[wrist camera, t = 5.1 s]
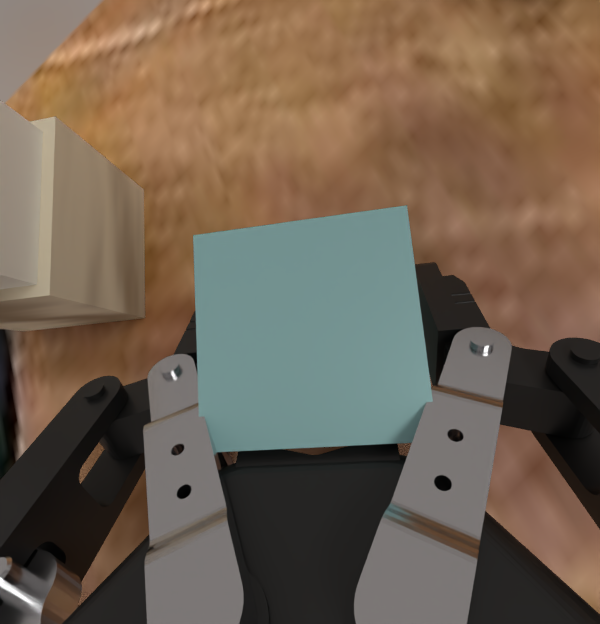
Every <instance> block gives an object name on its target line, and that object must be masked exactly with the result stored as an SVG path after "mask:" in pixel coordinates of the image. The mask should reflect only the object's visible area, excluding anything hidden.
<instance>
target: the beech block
mask: <svg viewBox="0 0 600 624" xmlns="http://www.w3.org/2000/svg"><path fill="white" fill-rule="evenodd" d="M30 123H32V124H33V125H34V126H36V127H37V128H38V129H40V130H41V131H42V132H43V143H42V171H41V198H40V225H39V252H38V279H37V285H30V286H23V287H15V288H8V289H0V329H7V330H16V331H32V330H41V329H51V328H60V327H69V326H78V325H87V324H96V323H106V322H115V321H124V320H133V319H142V318H145V250H144V189H143V188H141V187H140V186H139V185H138V184H137V183H135V182H134V181H133V180H132V179H131V178H129V177H128V176H127V175H126V174H125V173H123V172H122V171H121V170H120V169H118V168H117V167H116V166H115V165H114V164H112V163H111V162H110V161H109V160H108V159H106V158H105V157H104V156H103V155H102V154H100V153H99V152H98V151H97V150H95V149H94V148H93V147H92V146H91V145H89V144H88V143H87V142H86V141H85V140H83V139H82V138H81V137H80V136H79V135H77V134H76V133H75V132H74V131H72V130H71V129H70V128H69V127H68V126H66V125H65V124H64V123H63V122H62V121H60V120H59V119H58V118H57V117H56V116H55V117H50V118H46V119H41V120H36V121H31V122H30Z"/></svg>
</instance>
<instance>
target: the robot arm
mask: <svg viewBox="0 0 600 624" xmlns="http://www.w3.org/2000/svg"><path fill="white" fill-rule="evenodd" d="M415 271H416V278H417V286H418V293H419V301H420V308H421V316H422V323H423V331H424V338H425V346H426V354H427V361H428V369H429V374H430V377H431V381H432V384H433V386H432V388H431V391H432V399H433V402H426V405H425V407H424V410H423V413H422V416H421V419H420V422H419V424H418V427H417V430H416V433H415V436H414V439H413V441H412V444H411V447H410V450H409V453H408V456H403V455H399V451H398V445H397V443H395V444H375V445H354V446H348V447H344V448H341V449H337V450H334V451H330V452H327V453H323V454H320V455H308V454H303V453H298V452H293V451H288V450H283V449H273V450H253V451H238V456H237V461H236V463H234V464H233V461H232V457H231V454H230V452H217V450H216V448H215V445H214V442H213V439H212V436H211V434H210V431H209V428H208V425H207V422H206V419H205V417H204V416H202V417H199V404H198V372H197V340H196V311H195V312H194V314H193V316H192V318H191V320H190V323H189V324H188V326H187V328H186V331H185V332H184V334H183V336H182V339H181V341H180V343H179V345H178V347H177V349H176V351H175V353H174V355H172V356H169V357H166V358H164V359H162V360H161V361H159V362H158V363H157V364H155V365H154V366H153V367H152V369H151V370H150V372H149V374H148V378H147V379H145V380H141V381H138V382H135V383H132V384H129V385H126V386H123V385H122V384H121V382H120V380H119V379H118V378H116V377H114V376H104V377H100V378H97V379H94V380H92V381H90V382H89V383H87V384H85V385H84V386H83V387H81V388H80V389H79V390H78V391H77V392H76V393H75V395H74V396H73V397H72V398H71V399H70V400H69V401H68V403H67V404H66V405H65V406H64V407H63V408H62V410H61V411H60V412H59V413H58V414H57V415H56V416H55V418H54V419H53V420H52V421H51V422H50V423H49V425H48V426H47V427H46V428H45V429H44V430H43V432H42V433H41V434H40V435H39V436H38V437H37V438H36V440H35V441H34V442H33V443H32V444H31V445H30V447H29V448H28V449H27V450H26V451H25V452H24V454H23V455H22V456H21V457H20V458H19V459H18V460H17V462H16V463H15V464H14V465H13V466H12V467H11V469H10V470H9V471H8V472H7V473H6V474H5V475H4V477H3V478H2V479H1V480H0V624H600V614H599V613H598V612H596V611H595V610H594V609H593V608H592V607H591V606H590V605H589V604H588V603H587V602H585V601H584V600H583V599H582V598H581V597H580V596H579V595H578V594H577V593H575V592H574V591H573V590H572V589H571V588H570V587H569V586H568V585H567V584H566V583H564V582H563V581H562V580H561V579H560V578H559V577H558V576H557V575H556V574H554V573H553V572H552V571H551V570H550V569H549V568H548V567H547V566H546V565H545V564H543V563H542V562H541V561H540V560H539V559H538V558H537V557H536V556H535V555H533V554H532V553H531V552H530V551H529V550H528V549H527V548H526V547H525V546H524V545H522V544H521V543H520V542H519V541H518V540H517V539H516V538H515V537H514V536H513V535H511V534H510V533H509V532H508V531H507V530H506V529H505V528H504V527H503V526H501V525H500V524H499V523H498V522H497V521H496V520H495V519H494V518H493V517H492V516H490V515H489V514H488V513H487V512H486V511H485V509H486V503H487V497H488V491H489V485H490V479H491V473H492V467H493V461H494V455H495V449H496V443H497V437H498V431H499V426H500V424H501V425H506V426H511V427H516V428H521V429H525V430H530V431H532V433H533V435H534V436H535V438H536V439H537V440H538V442H539V443H540V445H541V446H542V447H543V449H544V450H545V452H546V453H547V455H548V456H549V457H550V459H551V460H552V462H553V463H554V465H555V466H556V467H557V469H558V470H559V472H560V473H561V475H562V476H563V477H564V479H565V480H566V482H567V483H568V485H569V486H570V487H571V489H572V490H573V492H574V493H575V495H576V496H577V497H578V499H579V500H580V502H581V503H582V504H583V506H584V507H585V509H586V510H587V512H588V513H589V514H590V516H591V517H592V519H593V520H594V522H595V523H596V524H597V526H598V527H599V529H600V343H598V342H595V341H592V340H588V339H583V338H565V339H561V340H558V341H556V342H555V343H553V344H552V346H551V348H550V351H549V352H546V351H538V350H530V349H523V348H519V347H515V346H512V345H511V343H510V341H509V339H508V338H507V337H506V336H504V335H503V334H502V333H500V332H498V331H496V330H493V329H490V327H489V325H488V323H487V322H486V320H485V318H484V316H483V314H482V313H481V311H480V309H479V307H478V306H477V304H476V302H475V301H474V298H473V297H472V295H471V294H470V291H469V289H468V288H467V286H466V284H465V283H464V282H463V281H461V280H460V279H459V278H457V277H456V276H454V275H449V276H442V275H441V272H440V270H439V268H438V266H437V264H436V263H435V262H433V263H424V264H415ZM99 442H100V444H101V445H102V446H103V448H104V449H105V450H104V451H103V452H102V454H101V455H100V457H99V458H98V460H97V461H96V463H95V464H94V466H93V467H92V469H91V470H90V472H89V473H88V474H87V476H86V477H85V479H84V480H83V482H82V483H81V484H80V482H79V473H80V469H81V467H82V465H83V464H84V462H85V461H86V459H87V458H88V457H89V455H90V454H91V452H92V451H93V450H94V448H95V447H96V445H97V444H98V443H99ZM145 469H146V486H147V503H148V520H149V535H148V536H147V537H146V538H145V539H144V541H143V542H142V543H141V544H140V545H139V546H138V547H137V548H136V549H135V550H134V551H133V552H132V553H131V554H130V555H129V556H128V557H127V558H126V559H125V560H124V561H123V562H122V563H121V564H120V565H119V566H118V567H117V568H116V569H115V570H114V571H113V572H112V573H111V574H110V575H109V576H108V577H107V578H106V579H105V580H104V581H103V582H102V583H101V584H100V585H99V586H98V587H97V588H96V590H95V591H94V592H93V593H92V594H91V595H90V596H89V597H88V598H87V599H86V600H85V601H84V602H83V603H82V604H81V605H80V606H79V605H78V603H79V600H80V597H81V591H82V585H81V582H82V580H83V578H84V576H85V575H86V573H87V571H88V569H89V568H90V566H91V564H92V562H93V560H94V559H95V557H96V555H97V553H98V552H99V550H100V548H101V546H102V544H103V543H104V541H105V539H106V537H107V535H108V534H109V532H110V530H111V528H112V527H113V525H114V523H115V521H116V519H117V518H118V516H119V514H120V512H121V511H122V509H123V507H124V505H125V503H126V502H127V500H128V498H129V496H130V495H131V493H132V491H133V489H134V487H135V486H136V484H137V482H138V480H139V479H140V477H141V475H142V473H143V471H144V470H145Z"/></svg>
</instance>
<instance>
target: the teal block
mask: <svg viewBox="0 0 600 624" xmlns="http://www.w3.org/2000/svg"><path fill="white" fill-rule="evenodd" d="M193 245H194V277H195V309H196V340H197V372H198V404H199V417H202V416H204V417H205V419H206V422H207V425H208V428H209V431H210V434H211V436H212V439H213V442H214V445H215V448H216V450H217V452H232V451H253V450H273V449H293V448H314V447H334V446H354V445H375V444H395V443H412V441H413V439H414V436H415V433H416V430H417V427H418V424H419V422H420V419H421V416H422V413H423V410H424V407H425V405H426V402H433V399H432V391H431V384H430V376H429V369H428V361H427V354H426V346H425V338H424V331H423V323H422V316H421V308H420V301H419V293H418V286H417V278H416V271H415V263H414V255H413V248H412V240H411V233H410V225H409V218H408V210H407V205H406V206H399V207H392V208H385V209H377V210H370V211H363V212H356V213H349V214H342V215H335V216H327V217H320V218H313V219H306V220H299V221H292V222H285V223H278V224H270V225H263V226H256V227H249V228H242V229H235V230H228V231H220V232H213V233H206V234H199V235H193Z"/></svg>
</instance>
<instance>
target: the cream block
mask: <svg viewBox="0 0 600 624" xmlns="http://www.w3.org/2000/svg"><path fill="white" fill-rule="evenodd" d="M42 143H43V132H42V131H41V130H40V129H38V128H37V127H36V126H34V125H33V124H32V123H30V122H29V121H28V120H26V119H25V118H24V117H22V116H21V115H20V114H18V113H17V112H16V111H14V110H13V109H12V108H10V107H9V106H8V105H6V104H5V103H3V102H2V101H1V100H0V289H8V288H15V287H23V286H30V285H37V279H38V252H39V225H40V198H41V171H42Z"/></svg>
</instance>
